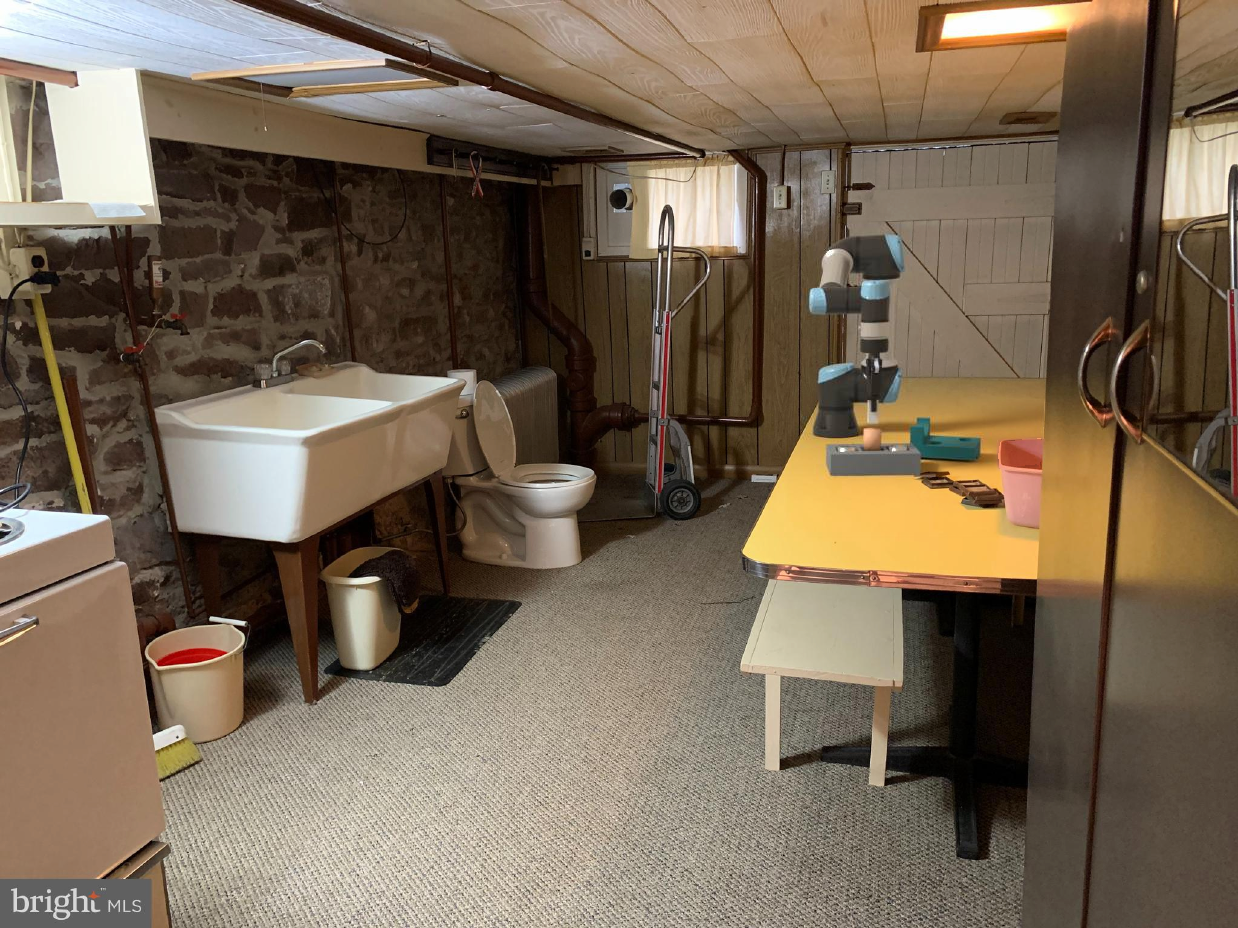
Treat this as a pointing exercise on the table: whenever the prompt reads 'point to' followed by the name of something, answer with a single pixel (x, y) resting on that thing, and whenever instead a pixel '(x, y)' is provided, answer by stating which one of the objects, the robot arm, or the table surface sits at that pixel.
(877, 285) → the robot arm
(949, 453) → the teal l-shaped bracket
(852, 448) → the steel plug
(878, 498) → the table surface
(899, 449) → the steel plug
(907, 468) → the grey rectangular block
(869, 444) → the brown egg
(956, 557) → the table surface
